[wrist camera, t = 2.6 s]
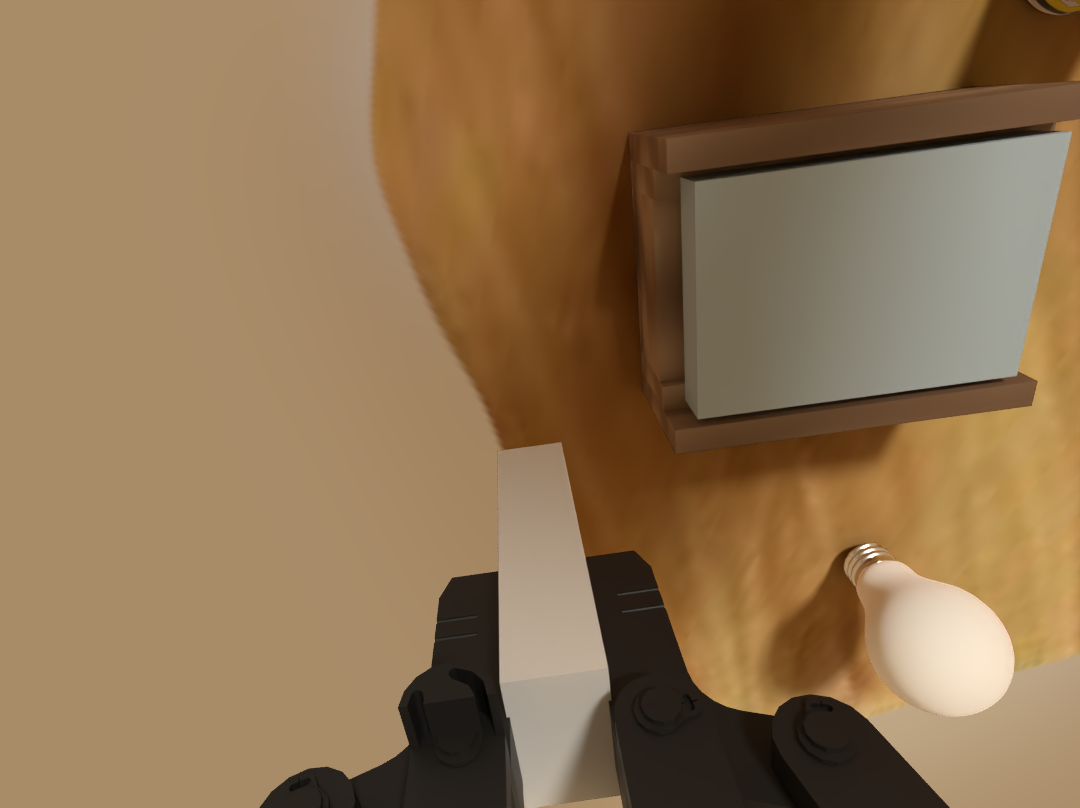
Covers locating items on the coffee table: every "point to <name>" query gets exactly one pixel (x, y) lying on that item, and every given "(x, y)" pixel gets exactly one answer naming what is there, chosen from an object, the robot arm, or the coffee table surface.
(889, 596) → the light bulb
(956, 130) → the walnut box
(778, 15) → the coffee table surface
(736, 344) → the cover plate
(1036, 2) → the supplement bottle
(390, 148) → the coffee table surface
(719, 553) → the coffee table surface
